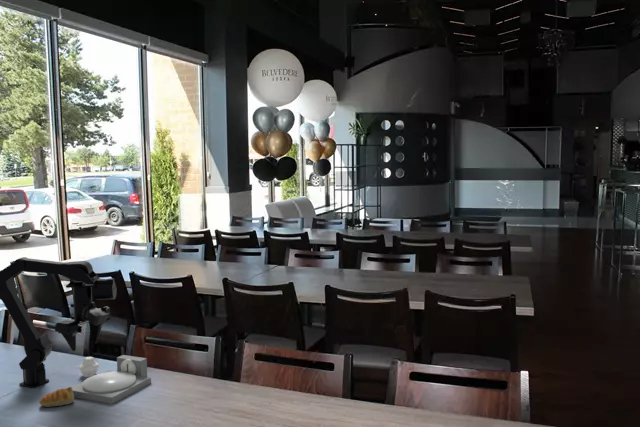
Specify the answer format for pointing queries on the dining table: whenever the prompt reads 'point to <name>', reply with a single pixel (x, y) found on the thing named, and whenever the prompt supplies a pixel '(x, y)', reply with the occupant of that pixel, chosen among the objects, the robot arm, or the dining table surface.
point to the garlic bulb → (89, 367)
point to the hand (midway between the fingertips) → (84, 346)
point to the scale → (115, 381)
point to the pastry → (58, 397)
